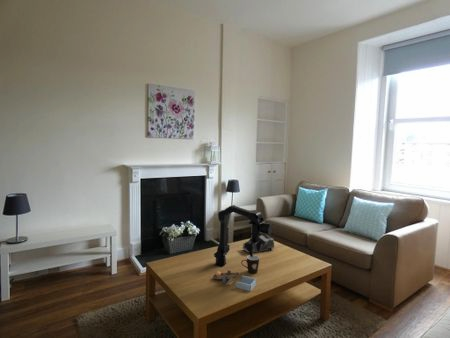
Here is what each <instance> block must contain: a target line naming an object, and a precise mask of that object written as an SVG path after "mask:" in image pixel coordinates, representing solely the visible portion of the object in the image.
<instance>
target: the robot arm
mask: <svg viewBox="0 0 450 338" xmlns="http://www.w3.org/2000/svg"><path fill="white" fill-rule="evenodd" d="M231 214H237V215H240V216H242V217H245V218H247V219H248V220H249V222H248V224H249V225H251V229H250V230H251V232H249V234H250V235H251V236H250V238H249V240H250V241H252V242H250V241H249V240H247V241H246V242H244V243H245V244H244V243H243V244H244V247H246V248H247V250H248V252H247V253H248V255H250V256H251V257H252V256H253V255H254V254H253V250H254V249H255V245H256V247H257V251H258V252H257V253H260V252H261V251H260V249H261V246H262V245H264V246H265V245H266V244H267V243H268V241H269V237H270V236H269V235H271V234H272V232H273V226H272V224H271V223H270V222H266V220H265V219H264V217H263V214H262V212H261V211H258V210H257V211H256V210H249V209H246V208H242V207H239V206H237V205H235V204H232V205H229V206H228V207H227V208H225V209H223V210H220V211H218V214H217V217H218V221H219V222H220V225H219V227H220V228H219V243H218V245H217V249H216V252H215V253H213V256H214V258H215V263H214V266H218V267H221V268H222V267H224V266H225V265H226V264H227V258H226V256H227V254H229V252H230V244H228V239H227V237H228V222H229V220H230V217H231ZM262 234H265V235H262ZM264 236H265V237H264Z"/></svg>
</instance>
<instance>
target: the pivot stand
mask: <svg viewBox="0 0 450 338" xmlns="http://www.w3.org/2000/svg"><path fill="white" fill-rule="evenodd" d="M226 273H232V270H229V269H228V270H227V272H226ZM229 280H230V279H227V280H226V275H224V274H223V279H222V281H221V284H223V285H227V284H226V283H227V282H228V281H229Z"/></svg>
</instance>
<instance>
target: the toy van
mask: <svg viewBox="0 0 450 338" xmlns="http://www.w3.org/2000/svg"><path fill="white" fill-rule="evenodd" d="M263 236H264V237H265V236H266V235H263ZM248 241H250V239H249V240H248ZM250 242H252V241H250ZM245 243H246V242H244V243H242V249H243V250H244V251H245V252H247V253H249V252H248V250H247V248H246V247H244V244H245ZM273 249H275V241H274V238H272V237H271V236H269V241H268V243H267V244H266V245H265V246H264V245H262V246H261V249H260V252H261V251H267V252H271V251H272V250H273ZM254 253H259V252H258V251H257V247H256V245H255V249H254V250H253V255H255V254H254Z"/></svg>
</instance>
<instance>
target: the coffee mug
mask: <svg viewBox="0 0 450 338" xmlns="http://www.w3.org/2000/svg"><path fill="white" fill-rule="evenodd" d="M244 261H245V262H246V264H247V266H246V265H244V263H243V262H244ZM240 263H241V265H242V266H243V267H244V268H246V269H247V273H249V274H251V275H256V274H257V273H258V271H259V270H258V269H259V266H260V265H259V264H260V256H259V255H256V254H253V256H252V257H251V256H250V254H248V255H247V256H246V259H242V260H241V262H240Z"/></svg>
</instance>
